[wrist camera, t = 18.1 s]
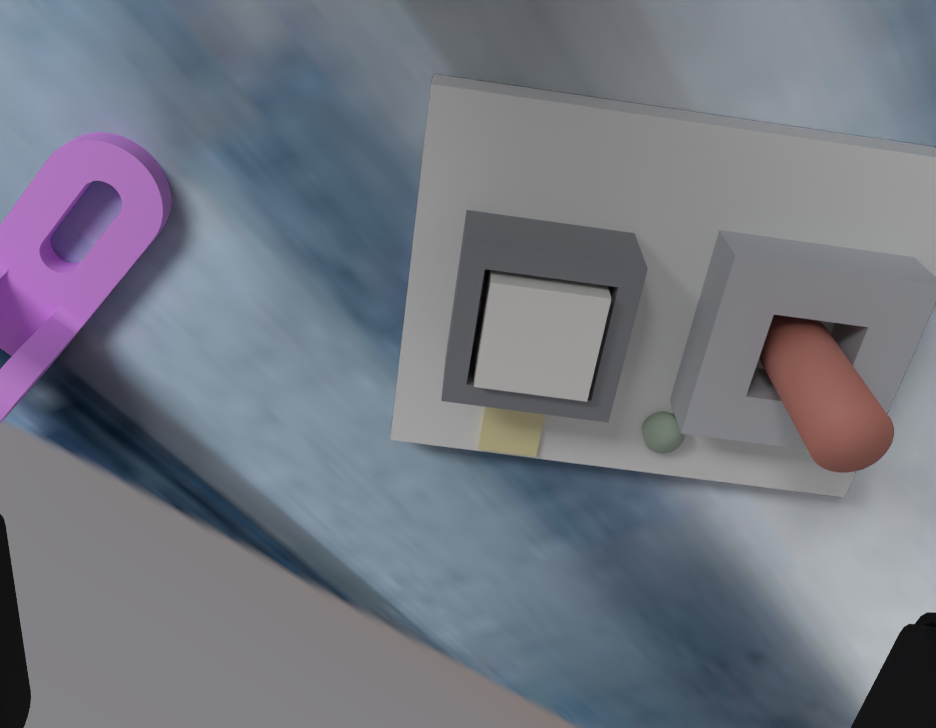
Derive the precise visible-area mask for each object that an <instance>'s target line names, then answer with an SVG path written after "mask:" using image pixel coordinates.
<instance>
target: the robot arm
mask: <svg viewBox="0 0 936 728" xmlns="http://www.w3.org/2000/svg"><path fill="white" fill-rule="evenodd" d="M30 700H31V691H30V685H29V678H28V672H27V666H26V658H25V651H24V645H23V638H22V632H21V625H20V618H19V612H18V605H17V598H16V592H15V585H14V579H13V572H12V565H11V559H10V553H9V546H8V539H7V533H6V525H5V522H4V519H3V517H2V516H1V514H0V728H23V727H24V725H25V722H26V719H27V717H28V713H29V708H30ZM851 728H936V613H926V614H924V615H922V616H921V617H920V618H919V619H918V621H917V622H916V623H915V624H908V625H907V626H905V627H904V628H903V629H902V631H901V632H900V634H899V636H898V637H897V639H896V641H895V643H894V645H893V647H892V649H891V651H890V653H889V655H888V657H887V659H886V661H885V663H884V664H883V666H882V668H881V670H880V672H879V674H878V676H877V678H876V680H875V682H874V684H873V686H872V688H871V690H870V692H869V693H868V695H867V697H866V699H865V701H864V703H863V705H862V707H861V709H860V711H859V713H858V715H857V717H856V719H855V720H854V722H853V724H852V726H851Z"/></svg>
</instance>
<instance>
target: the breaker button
mask: <svg viewBox="0 0 936 728" xmlns="http://www.w3.org/2000/svg"><path fill="white" fill-rule="evenodd" d="M610 303H611V295H610V292H609V288H608V286H605V285H598V284H590V283H583V282H576V281H568V280H561V279H554V278H546V277H539V276H532V275H524V274H517V273H510V272H502V271H495V270H488V269H487V275H486V281H485V287H484V294H483V300H482V306H481V312H480V319H479V325H478V331H477V337H476V344H475V370H474V387H478V388H486V389H493V390H501V391H509V392H516V393H524V394H532V395H539V396H547V397H555V398H562V399H570V400H578V401H585V402H587V400H588V396H589V391H590V387H591V383H592V379H593V375H594V370H595V366H596V362H597V358H598V354H599V349H600V345H601V341H602V337H603V333H604V328H605V324H606V320H607V316H608V312H609V307H610Z"/></svg>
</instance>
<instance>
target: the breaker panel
mask: <svg viewBox="0 0 936 728" xmlns="http://www.w3.org/2000/svg"><path fill="white" fill-rule="evenodd" d="M487 269H488V270H495V271H502V272H510V273H517V274H524V275H532V276H539V277H546V278H554V279H561V280H568V281H576V282H583V283H590V284H598V285H605V286H608V288H609V292H610V295H611V303H610V307H609V312H608V316H607V320H606V324H605V328H604V333H603V337H602V341H601V345H600V349H599V354H598V358H597V362H596V366H595V370H594V375H593V379H592V383H591V387H590V391H589V396H588V400H587V402H585V401H578V400H570V399H562V398H555V397H547V396H539V395H532V394H524V393H516V392H509V391H501V390H493V389H486V388H478V387H474V370H475V344H476V337H477V331H478V325H479V319H480V312H481V306H482V300H483V294H484V287H485V281H486V275H487ZM935 303H936V147H931V146H924V145H917V144H910V143H903V142H897V141H890V140H883V139H876V138H869V137H862V136H855V135H849V134H842V133H835V132H828V131H821V130H814V129H807V128H801V127H794V126H787V125H780V124H773V123H766V122H759V121H753V120H746V119H739V118H732V117H725V116H718V115H711V114H705V113H698V112H691V111H684V110H677V109H670V108H663V107H657V106H650V105H643V104H636V103H629V102H622V101H615V100H609V99H602V98H595V97H588V96H581V95H574V94H567V93H561V92H554V91H547V90H540V89H533V88H526V87H519V86H513V85H506V84H499V83H492V82H485V81H478V80H471V79H464V78H458V77H451V76H444V75H437V74H434V75H433V78H432V82H431V87H430V96H429V105H428V114H427V123H426V131H425V140H424V149H423V158H422V167H421V176H420V184H419V193H418V202H417V211H416V220H415V228H414V237H413V246H412V255H411V264H410V273H409V281H408V290H407V299H406V308H405V317H404V325H403V334H402V343H401V352H400V361H399V370H398V378H397V387H396V396H395V405H394V414H393V422H392V431H391V440H395V441H403V442H411V443H419V444H427V445H435V446H442V447H450V448H458V449H466V450H474V451H482V452H490V453H497V454H505V455H513V456H521V457H529V458H537V459H545V460H553V461H560V462H568V463H576V464H584V465H592V466H600V467H608V468H615V469H623V470H631V471H639V472H647V473H655V474H663V475H671V476H678V477H686V478H694V479H702V480H710V481H718V482H726V483H733V484H741V485H749V486H757V487H765V488H773V489H781V490H789V491H796V492H804V493H812V494H820V495H828V496H836V497H844V498H845V496H846V494H847V492H848V489H849V487H850V485H851V482H852V480H853V478H854V475H855V473H856V471H854V472H847V473H840V472H833V471H829V470H826V469H824V468H822V467H821V466H819V465H818V464H817V463H816V462H815V461H814V460H813V459H812V457H811V455H810V453H809V451H808V449H807V448H806V446H805V444H804V442H803V440H802V438H801V436H800V434H799V432H798V431H797V429H796V427H795V425H794V423H793V421H792V419H791V417H790V416H789V414H788V412H787V410H786V408H785V406H784V404H783V402H782V401H781V399H780V397H779V395H778V393H777V391H776V389H775V387H774V385H773V384H772V382H771V380H770V378H769V376H768V374H767V372H766V370H765V369H764V367H763V365H762V363H761V361H760V359H759V357H760V354H761V351H762V348H763V345H764V342H765V339H766V336H767V333H768V330H769V327H770V324H771V321H772V318H773V316H774V315H782V316H789V317H796V318H804V319H811V320H818V321H821V322H822V323H823V324H824V326H825V327H826V329H827V330H828V331H829V333H830V334H831V336H832V337H833V339H834V340H835V341H836V343H837V344H838V346H839V347H840V348H841V350H842V351H843V353H844V354H845V355H846V357H847V358H848V360H849V361H850V363H851V364H852V365H853V367H854V368H855V370H856V371H857V372H858V374H859V375H860V377H861V378H862V379H863V381H864V382H865V384H866V385H867V387H868V388H869V389H870V391H871V392H872V394H873V395H874V396H875V398H876V399H877V401H878V402H879V404H880V405H881V406H882V408H883V409H884V411H885V412H886V413H887V414H888V411H889V409H890V407H891V404H892V402H893V400H894V397H895V395H896V393H897V391H898V388H899V386H900V384H901V381H902V379H903V377H904V375H905V372H906V370H907V368H908V365H909V363H910V361H911V358H912V356H913V354H914V352H915V349H916V347H917V345H918V342H919V340H920V338H921V335H922V333H923V331H924V329H925V326H926V324H927V322H928V319H929V317H930V315H931V313H932V310H933V308H934V306H935Z"/></svg>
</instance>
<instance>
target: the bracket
mask: <svg viewBox="0 0 936 728" xmlns="http://www.w3.org/2000/svg"><path fill="white" fill-rule="evenodd" d="M92 181H103V182H106V183H108V184H110V185H111V186H113V187H114V188H115V189H116V190H117V192H118V193H119V195H120V197H121V200H122V208H121V211H120V213H119V214H118V216H117V217H116V218H115V219H114V221H113V222H112V223H111V225H110V226H109V227H108V228H107V230H106V231H105V232H104V233H103V235H102V236H101V237H100V239H99V240H98V241H97V242H96V244H95V245H94V246H93V247H92V249H91V250H90V251H89V253H88V254H87V255H86V256H85V258H84V259H83V260H82V262H79V263H70V262H67V261H64V260H63V259H61V258H60V257H59V256H57V254H56V253H55V252H54V250H53V248H52V245H51V237H52V235H53V233H54V232H55V230H56V229H57V228H58V226H59V225H60V224H61V222H62V221H63V220H64V218H65V217H66V216H67V214H68V213H69V212H70V210H71V209H72V208H73V206H74V205H75V204H76V202H77V201H78V200H79V198H80V197H81V196H82V194H83V193H84V192H85V191H86V189H87V188H88V187H89V185H90V184H91V183H92ZM170 211H171V191H170V187H169V184H168V181H167V178H166V176H165V174H164V172H163V170H162V168H161V167H160V165H159V164H158V163H157V161H156V160H155V159H154V158H153V157H152V156H151V155H150V154H149V153H148V152H147V151H146V150H145V149H144V148H142V147H141V146H139V145H138V144H136V143H135V142H133V141H131V140H129V139H127V138H125V137H122V136H119V135H116V134H111V133H103V132H96V133H88V134H84V135H81V136H78V137H76V138H74V139H72V140H71V141H69V142H68V143H66V144H65V145H63V146H62V147H60V148H59V149H57V150H56V151H55V152H54V153H53V154H52V155H51V156H50V157H49V158H48V160H47V161H46V162H45V164H44V165H43V167H42V168H41V169H40V171H39V172H38V173H37V175H36V176H35V178H34V179H33V180H32V182H31V183H30V185H29V186H28V187H27V189H26V190H25V192H24V193H23V194H22V196H21V197H20V199H19V200H18V201H17V203H16V204H15V205H14V207H13V208H12V210H11V211H10V212H9V214H8V215H7V217H6V218H5V219H4V221H3V222H2V224H1V225H0V348H1V349H2V350H4V351H5V352H6V353H8V354H9V355H11V356H12V357H11V358H10V359H9V360H8V361H7V362H6V363H5V365H4V366H3V367H2V368H1V369H0V423H1V422H2V420H3V419H4V418H5V417H6V416H7V415H8V414H9V413H10V411H11V410H12V409H13V408H14V407H15V406H16V405H17V403H18V402H19V401H20V400H21V399H22V398H23V397H24V396H25V394H26V393H27V392H28V391H29V390H30V389H31V388H32V386H33V385H34V384H35V383H36V382H37V381H38V380H39V379H40V377H41V376H42V375H43V374H44V373H45V372H46V371H47V369H48V368H49V367H50V366H51V365H52V364H53V363H54V361H55V360H56V359H57V358H58V356H59V355H60V354H61V353H62V352H63V350H64V349H65V348H66V347H67V345H68V344H69V343H70V342H71V341H72V339H73V338H74V337H75V336H76V334H77V333H78V332H79V331H80V330H81V328H82V327H83V326H84V325H85V323H86V322H87V321H88V320H89V319H90V317H91V316H92V315H93V314H94V312H95V311H96V310H97V309H98V308H99V306H100V305H101V304H102V303H103V301H104V300H105V299H106V298H107V297H108V295H109V294H110V293H111V292H112V290H113V289H114V288H115V287H116V286H117V284H118V283H119V282H120V281H121V279H122V278H123V277H124V276H125V275H126V273H127V272H128V271H129V270H130V268H131V267H132V266H133V265H134V264H135V262H136V261H137V260H138V259H139V258H140V256H141V255H142V254H143V253H144V251H145V250H146V249H147V248H148V247H149V245H150V244H151V243H152V242H153V240H154V239H155V238H156V237H157V236H158V234H159V233H160V232H161V231H162V229H163V228H164V226H165V225H166V223H167V221H168V218H169V215H170Z"/></svg>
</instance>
